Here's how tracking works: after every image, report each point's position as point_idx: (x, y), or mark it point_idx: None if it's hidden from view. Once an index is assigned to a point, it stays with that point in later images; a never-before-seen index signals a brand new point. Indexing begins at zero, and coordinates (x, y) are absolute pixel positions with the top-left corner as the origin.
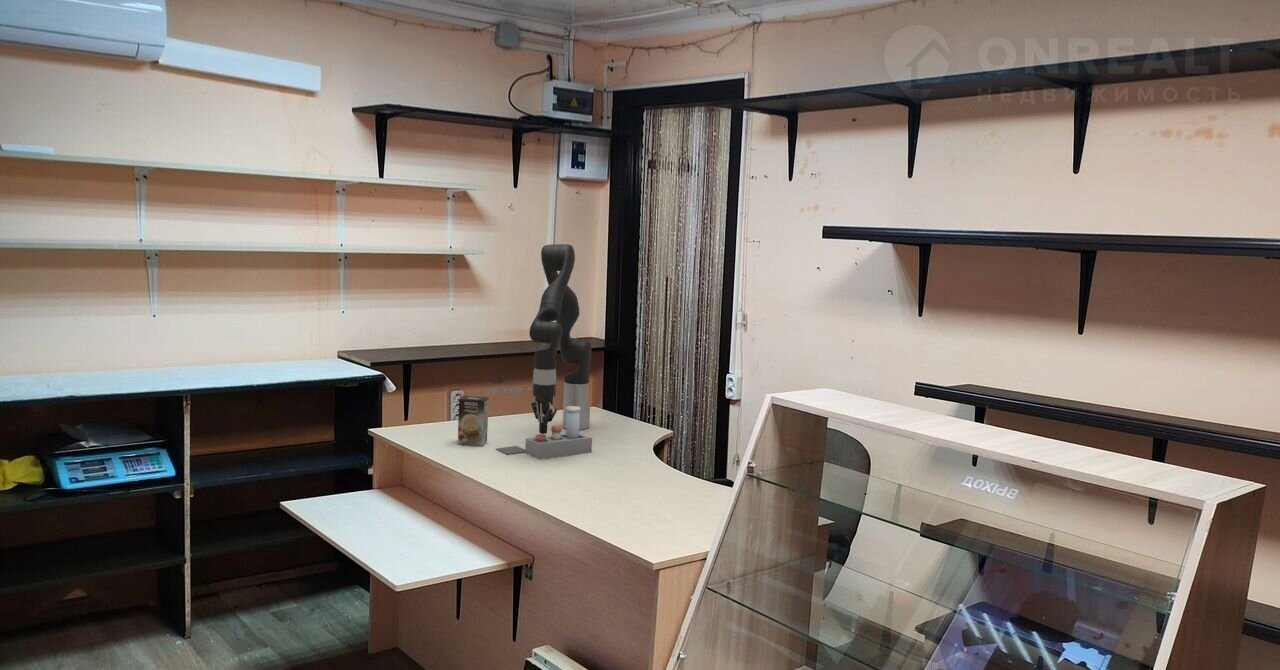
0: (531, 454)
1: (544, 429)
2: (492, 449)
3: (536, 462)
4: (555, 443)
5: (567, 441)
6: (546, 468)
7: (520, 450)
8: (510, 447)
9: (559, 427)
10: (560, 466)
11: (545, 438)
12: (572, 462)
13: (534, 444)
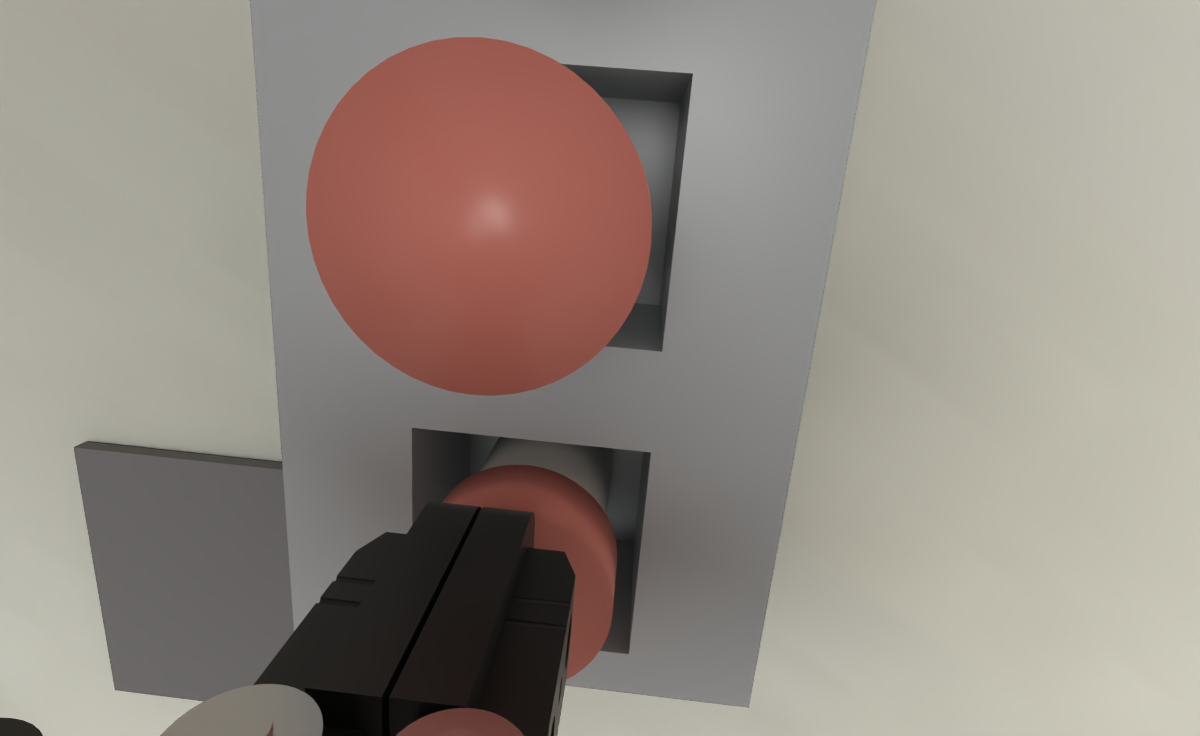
0: None
1: (562, 677)
2: (104, 695)
3: (807, 652)
4: (795, 406)
5: (847, 116)
6: (1081, 711)
7: None
8: (125, 547)
9: (628, 210)
10: (1143, 548)
11: (596, 522)
12: (1123, 306)
13: None
